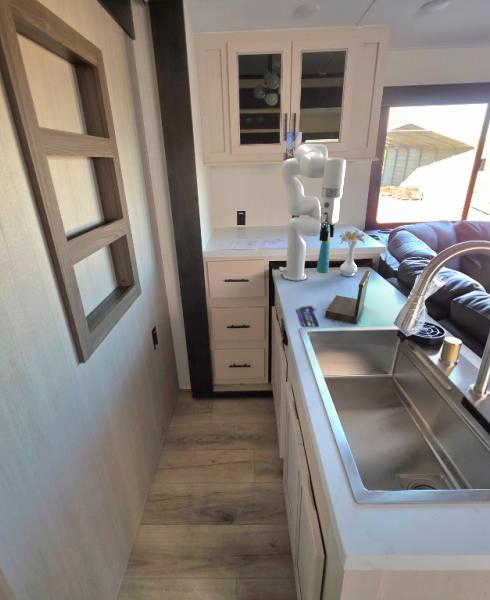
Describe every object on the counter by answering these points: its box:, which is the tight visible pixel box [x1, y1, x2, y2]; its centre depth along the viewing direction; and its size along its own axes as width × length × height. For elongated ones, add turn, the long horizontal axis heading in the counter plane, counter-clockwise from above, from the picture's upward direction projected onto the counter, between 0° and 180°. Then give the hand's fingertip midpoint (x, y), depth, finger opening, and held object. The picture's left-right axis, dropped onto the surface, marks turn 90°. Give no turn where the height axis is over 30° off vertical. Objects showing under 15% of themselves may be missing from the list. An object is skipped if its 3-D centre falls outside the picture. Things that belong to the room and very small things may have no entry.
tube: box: [315, 225, 331, 274], centre depth 130 cm, size 7×5×19 cm, turn 160°
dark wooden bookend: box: [324, 270, 371, 325], centre depth 127 cm, size 12×18×16 cm
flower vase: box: [339, 228, 366, 277], centre depth 169 cm, size 13×18×25 cm
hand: (326, 238), depth 128 cm, fingers closed on tube, 7 cm apart
